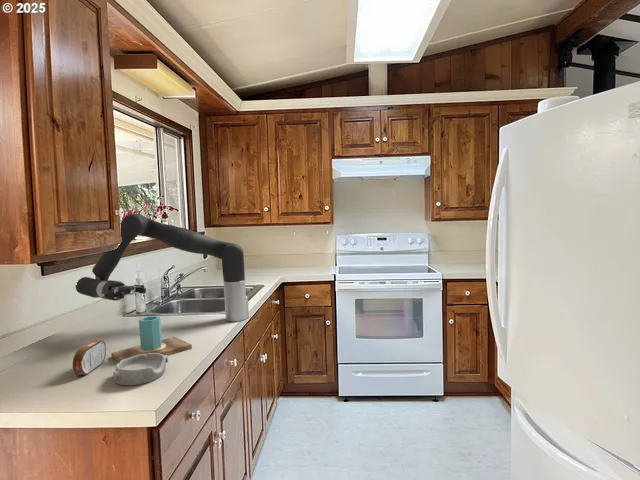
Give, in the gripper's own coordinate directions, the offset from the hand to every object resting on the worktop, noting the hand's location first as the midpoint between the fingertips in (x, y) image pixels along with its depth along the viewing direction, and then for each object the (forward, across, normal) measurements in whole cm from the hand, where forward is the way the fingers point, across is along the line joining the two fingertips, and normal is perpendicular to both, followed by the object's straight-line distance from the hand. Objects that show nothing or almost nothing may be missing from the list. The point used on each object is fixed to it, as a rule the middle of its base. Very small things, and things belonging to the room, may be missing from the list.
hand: (134, 293), depth 151 cm
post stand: (+14, -4, +19) cm, 24 cm away
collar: (+14, -4, +17) cm, 23 cm away
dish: (+30, -18, +20) cm, 40 cm away
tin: (+11, -23, +19) cm, 32 cm away
